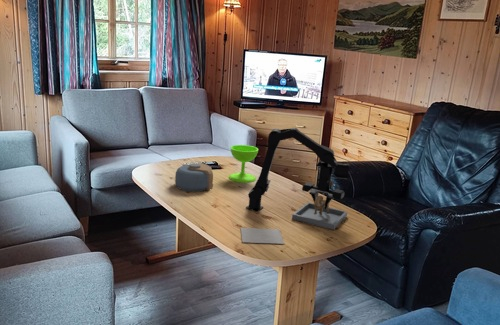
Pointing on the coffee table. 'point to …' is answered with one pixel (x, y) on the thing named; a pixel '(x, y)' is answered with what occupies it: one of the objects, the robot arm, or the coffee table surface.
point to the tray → (319, 216)
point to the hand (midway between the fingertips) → (320, 208)
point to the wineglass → (243, 162)
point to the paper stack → (261, 235)
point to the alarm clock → (194, 177)
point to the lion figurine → (320, 205)
